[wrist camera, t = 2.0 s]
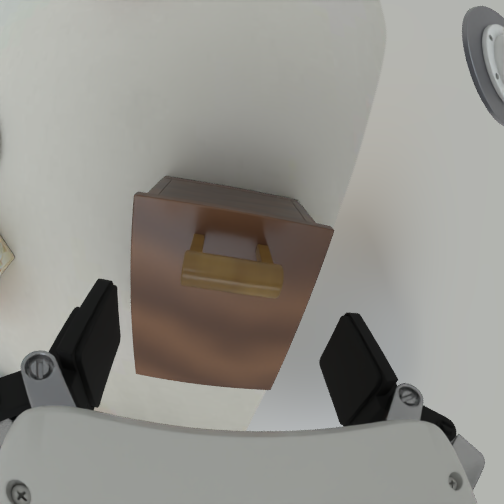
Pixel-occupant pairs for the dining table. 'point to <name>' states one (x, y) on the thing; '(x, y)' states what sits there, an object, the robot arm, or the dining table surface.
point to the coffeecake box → (5, 256)
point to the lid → (218, 289)
